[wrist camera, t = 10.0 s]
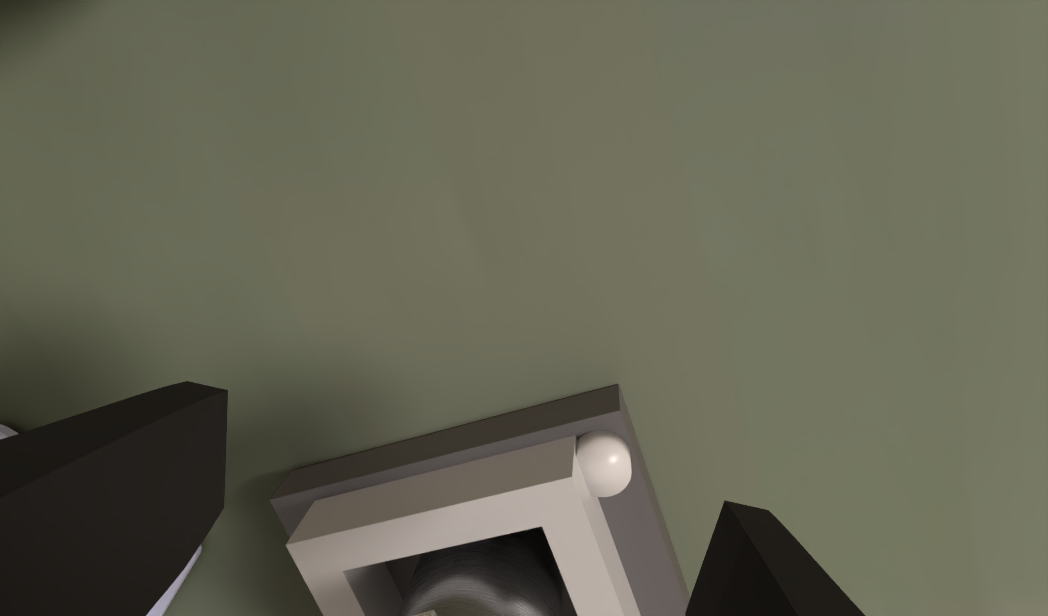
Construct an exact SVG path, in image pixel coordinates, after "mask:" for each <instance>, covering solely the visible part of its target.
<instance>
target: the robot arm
mask: <svg viewBox="0 0 1048 616" xmlns="http://www.w3.org/2000/svg"><path fill="white" fill-rule="evenodd" d="M227 401H228V390H224V389H220V388H215V387H211V386H206V385H202V384H197V383H193V382H188V381H186V382H182V383H178V384H173V385H170V386H166V387H162V388H159V389H156V390H152V391H149V392H146V393H143V394H139V395H136V396H133V397H130V398H127V399H124V400H121V401H118V402H115V403H112V404H109V405H106V406H103V407H100V408H97V409H94V410H91V411H88V412H84V413H81V414H78V415H75V416H72V417H69V418H66V419H63V420H60V421H57V422H54V423H51V424H48V425H45V426H42V427H39V428H36V429H33V430H30V431H26V432H23V433H20V434H19V433H17V432H15V431H14V430H12V429H10V428H9V427H6V426H4V425H0V616H163V614H164V613H165V611H166V610H167V608H168V606H169V605H170V603H171V601H172V600H173V598H174V596H175V595H176V593H177V591H178V590H179V588H180V586H181V585H182V583H183V581H184V580H185V578H186V576H187V575H188V573H189V572H190V570H191V568H192V567H193V565H194V563H195V562H196V560H197V558H198V557H199V555H200V553H201V550H202V548H201V543H202V542H203V540H204V539H205V537H206V536H207V534H208V532H209V531H210V529H211V528H212V526H213V524H214V523H215V521H216V519H217V518H218V516H219V515H220V513H221V511H222V510H223V508H224V492H225V462H226V431H227ZM685 616H865V615H864V614H863V613H862V612H861V611H860V610H859V608H858V607H857V606H856V605H855V604H854V603H853V602H852V601H851V600H850V599H849V598H848V596H847V595H846V594H845V593H844V592H843V591H842V590H841V589H840V588H839V586H838V585H837V584H836V583H835V582H834V581H833V580H832V579H831V578H830V576H829V575H828V574H827V573H826V572H825V571H824V570H823V569H822V568H821V566H820V565H819V564H818V563H817V562H816V561H815V560H814V559H813V557H812V556H811V555H810V554H809V553H808V552H807V551H806V550H805V549H804V547H803V546H802V545H801V544H800V543H799V542H798V541H797V540H796V539H795V537H794V536H793V535H792V534H791V533H790V532H789V531H788V530H787V529H786V528H785V527H784V526H783V525H782V523H781V522H780V521H779V520H778V519H777V518H776V517H775V516H774V515H773V514H772V513H771V512H770V511H768V510H765V509H760V508H756V507H751V506H747V505H742V504H738V503H733V502H729V501H724V504H723V507H722V510H721V512H720V515H719V518H718V521H717V524H716V527H715V530H714V532H713V535H712V538H711V541H710V544H709V547H708V549H707V552H706V555H705V558H704V561H703V564H702V567H701V569H700V572H699V575H698V578H697V581H696V584H695V586H694V589H693V592H692V595H691V598H690V601H689V604H688V606H687V609H686V612H685Z"/></svg>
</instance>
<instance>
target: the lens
mask: <svg viewBox="0 0 1048 616" xmlns="http://www.w3.org/2000/svg"><path fill="white" fill-rule="evenodd" d="M563 588H564V580H563V578H562V575H561V573H560V570H559V568H558V565H557V563H556V560H555V558H554V555H553V553H552V550H551V548H550V545H549V543H548V540H547V538H546V535H545V533H544V532H543V531H542V530H541V529H539V528H538V527H536V528H532V529H528V530H523V531H519V532H514V533H510V534H505V535H501V536H496V537H492V538H487V539H483V540H478V541H474V542H470V543H465V544H461V545H456V546H452V547H447V548H443V549H438V550H434V551H429V552H425V553H421V554H420V557H419V560H418V562H417V565H416V568H415V570H414V573H413V576H412V578H411V581H410V584H409V587H408V589H407V592H406V595H405V597H404V600H403V603H402V605H401V608H400V611H399V614H398V616H562V602H563Z"/></svg>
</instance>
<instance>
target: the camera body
mask: <svg viewBox="0 0 1048 616" xmlns="http://www.w3.org/2000/svg"><path fill="white" fill-rule="evenodd" d="M269 501H270V503H271V505H272V507H273V509H274V510H275V512H276V514H277V516H278V518H279V520H280V522H281V524H282V525H283V527H284V529H285V531H286V533H287V535H288V537H289V538H290V539H289V540H288V542H287V543H286V547H287V549H288V551H289V553H290V554H291V556H292V558H293V560H294V562H295V564H296V566H297V567H298V569H299V571H300V573H301V575H302V577H303V579H304V580H305V582H306V584H307V586H308V588H309V590H310V592H311V593H312V595H313V597H314V599H315V601H316V603H317V605H318V606H319V608H320V610H321V612H322V614H323V616H398V614H399V611H400V608H401V605H402V603H403V600H404V597H405V595H406V592H407V589H408V587H409V584H410V581H411V578H412V576H413V573H414V570H415V568H416V565H417V562H418V560H419V557H420V554H421V553H425V552H429V551H434V550H438V549H443V548H447V547H452V546H456V545H461V544H465V543H470V542H474V541H478V540H483V539H487V538H492V537H496V536H501V535H505V534H510V533H514V532H519V531H523V530H528V529H532V528H536V527H538V528H539V529H541V530H542V531H543V532H544V533H545V535H546V538H547V540H548V543H549V545H550V548H551V550H552V553H553V555H554V558H555V560H556V563H557V565H558V568H559V570H560V573H561V575H562V578H563V580H564V588H563V602H562V616H685V612H686V609H687V606H688V604H689V601H690V597H689V594H688V591H687V588H686V585H685V582H684V579H683V576H682V573H681V570H680V567H679V564H678V561H677V558H676V555H675V552H674V549H673V546H672V543H671V540H670V537H669V534H668V531H667V528H666V525H665V522H664V519H663V516H662V513H661V510H660V507H659V504H658V501H657V498H656V495H655V492H654V489H653V486H652V483H651V480H650V477H649V474H648V471H647V468H646V465H645V462H644V459H643V456H642V453H641V450H640V447H639V444H638V441H637V438H636V435H635V432H634V429H633V426H632V423H631V420H630V417H629V414H628V411H627V408H626V405H625V402H624V399H623V396H622V393H621V390H620V387H619V384H617V385H613V386H610V387H606V388H602V389H598V390H595V391H591V392H587V393H583V394H579V395H576V396H572V397H568V398H564V399H560V400H557V401H553V402H549V403H545V404H542V405H538V406H534V407H530V408H526V409H523V410H519V411H515V412H511V413H507V414H504V415H500V416H496V417H492V418H488V419H485V420H481V421H477V422H473V423H470V424H466V425H462V426H458V427H454V428H451V429H447V430H443V431H439V432H435V433H432V434H428V435H424V436H420V437H417V438H413V439H409V440H405V441H401V442H398V443H394V444H390V445H386V446H382V447H379V448H375V449H371V450H367V451H364V452H360V453H356V454H352V455H348V456H345V457H341V458H337V459H333V460H329V461H326V462H322V463H318V464H314V465H311V466H307V467H303V468H299V469H295V470H292V471H291V472H290V473H289V475H288V476H287V477H286V479H285V480H284V481H283V483H282V484H281V485H280V486H279V488H278V489H277V490H276V492H275V493H274V494H273V495H272V497H271V498H270V499H269Z"/></svg>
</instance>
